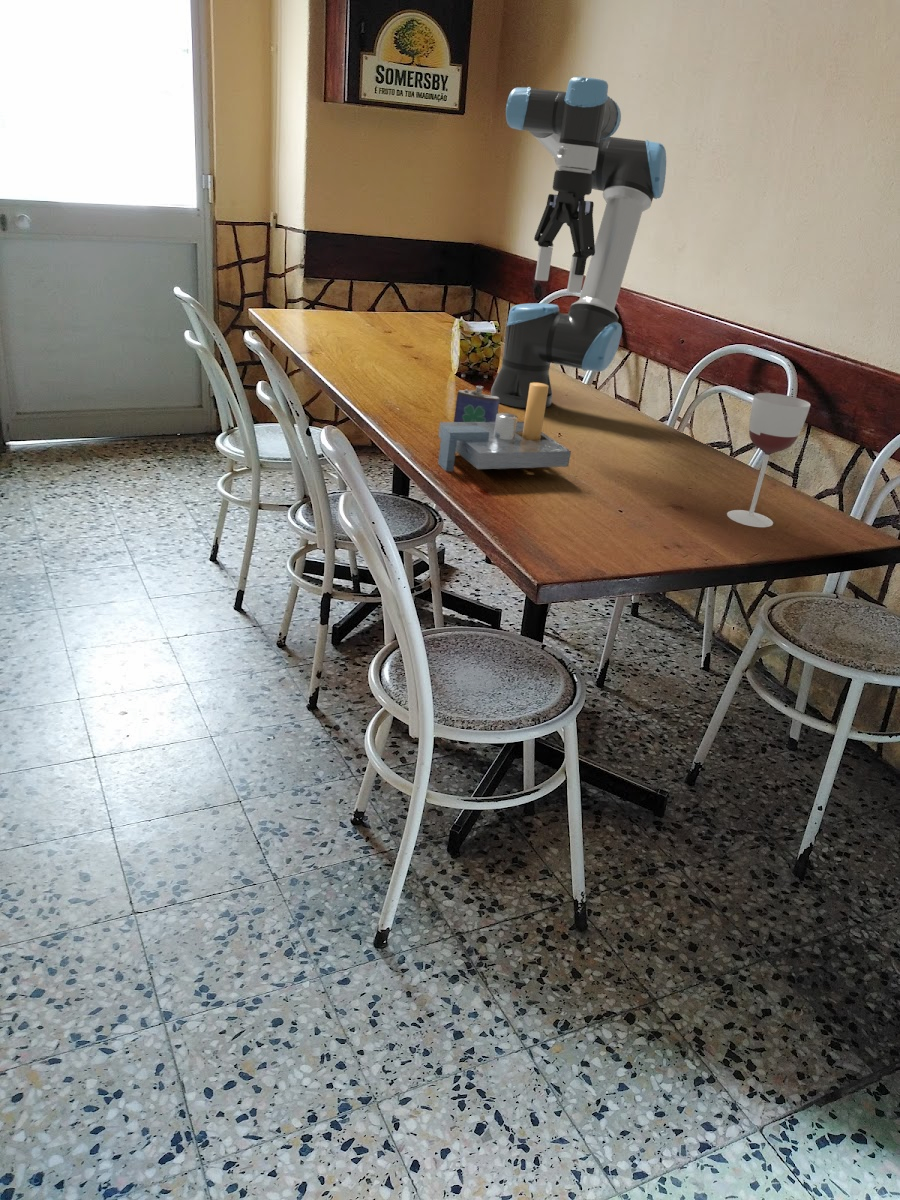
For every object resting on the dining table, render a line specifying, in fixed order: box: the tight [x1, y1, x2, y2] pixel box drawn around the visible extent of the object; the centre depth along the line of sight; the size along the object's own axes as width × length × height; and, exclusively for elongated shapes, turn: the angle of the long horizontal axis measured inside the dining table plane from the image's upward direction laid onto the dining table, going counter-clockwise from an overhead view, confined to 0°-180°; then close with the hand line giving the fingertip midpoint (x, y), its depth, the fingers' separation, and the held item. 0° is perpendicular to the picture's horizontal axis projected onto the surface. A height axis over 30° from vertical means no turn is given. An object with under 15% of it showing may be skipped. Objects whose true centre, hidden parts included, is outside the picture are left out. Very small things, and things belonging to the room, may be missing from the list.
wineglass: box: [726, 392, 811, 528], centre depth 164 cm, size 9×10×22 cm
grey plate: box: [437, 412, 572, 472], centre depth 178 cm, size 22×19×10 cm
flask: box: [453, 385, 500, 422], centre depth 195 cm, size 9×3×11 cm, turn 74°
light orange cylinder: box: [522, 383, 549, 469], centre depth 179 cm, size 4×4×16 cm
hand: (556, 286), depth 186 cm, fingers open, 13 cm apart
